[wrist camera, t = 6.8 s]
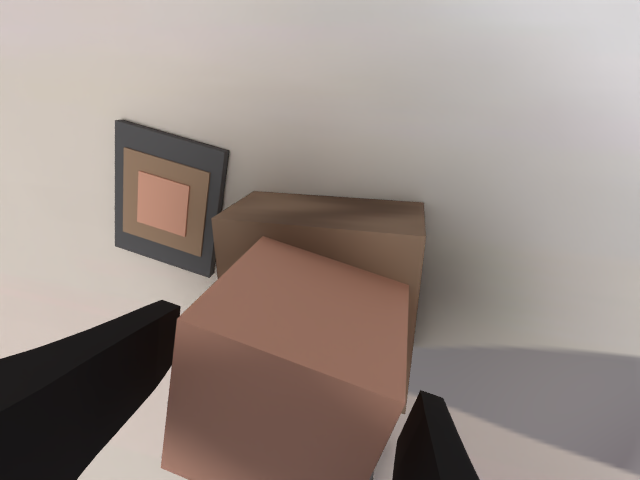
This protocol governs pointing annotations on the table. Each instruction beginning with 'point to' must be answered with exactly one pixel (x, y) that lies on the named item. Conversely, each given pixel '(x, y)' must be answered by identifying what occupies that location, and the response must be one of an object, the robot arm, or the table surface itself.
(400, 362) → the terracotta cube
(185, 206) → the card
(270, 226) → the walnut block
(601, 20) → the table surface
